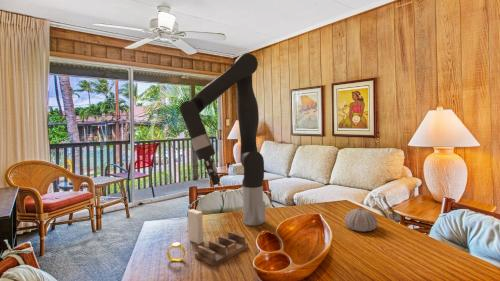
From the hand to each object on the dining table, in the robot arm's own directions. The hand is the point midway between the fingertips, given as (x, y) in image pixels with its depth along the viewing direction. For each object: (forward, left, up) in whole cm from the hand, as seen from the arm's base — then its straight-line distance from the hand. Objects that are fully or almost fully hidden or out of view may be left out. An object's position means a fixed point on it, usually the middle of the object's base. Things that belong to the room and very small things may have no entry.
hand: (217, 183), depth 115 cm
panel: (+11, +3, -21) cm, 24 cm away
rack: (+4, +17, -21) cm, 27 cm away
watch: (+20, +15, -21) cm, 33 cm away
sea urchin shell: (-56, +24, -22) cm, 64 cm away
